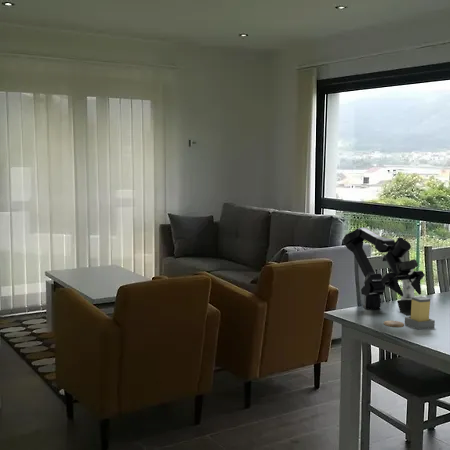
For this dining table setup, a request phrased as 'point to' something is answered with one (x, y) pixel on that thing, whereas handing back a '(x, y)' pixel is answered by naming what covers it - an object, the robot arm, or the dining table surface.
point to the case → (419, 323)
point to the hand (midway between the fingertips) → (411, 294)
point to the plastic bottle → (407, 289)
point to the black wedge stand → (405, 306)
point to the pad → (393, 323)
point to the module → (420, 308)
